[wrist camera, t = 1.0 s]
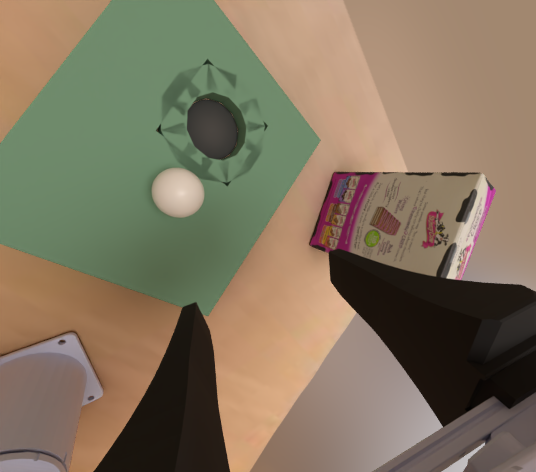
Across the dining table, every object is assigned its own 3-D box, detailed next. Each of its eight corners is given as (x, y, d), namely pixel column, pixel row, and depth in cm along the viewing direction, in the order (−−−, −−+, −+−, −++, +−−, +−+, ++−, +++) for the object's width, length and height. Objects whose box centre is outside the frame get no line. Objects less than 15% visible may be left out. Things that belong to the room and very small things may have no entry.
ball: (156, 217, 20) (162, 227, 17) (143, 170, 19) (146, 171, 15) (201, 208, 22) (214, 215, 18) (192, 165, 20) (204, 164, 17)
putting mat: (203, 307, 27) (208, 316, 25) (-42, 216, 16) (-62, 222, 14) (309, 141, 29) (320, 140, 27) (160, -44, 17) (163, -67, 16)
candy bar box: (330, 251, 36) (455, 302, 22) (308, 245, 33) (434, 299, 19) (354, 182, 35) (501, 190, 21) (333, 170, 32) (485, 170, 18)
